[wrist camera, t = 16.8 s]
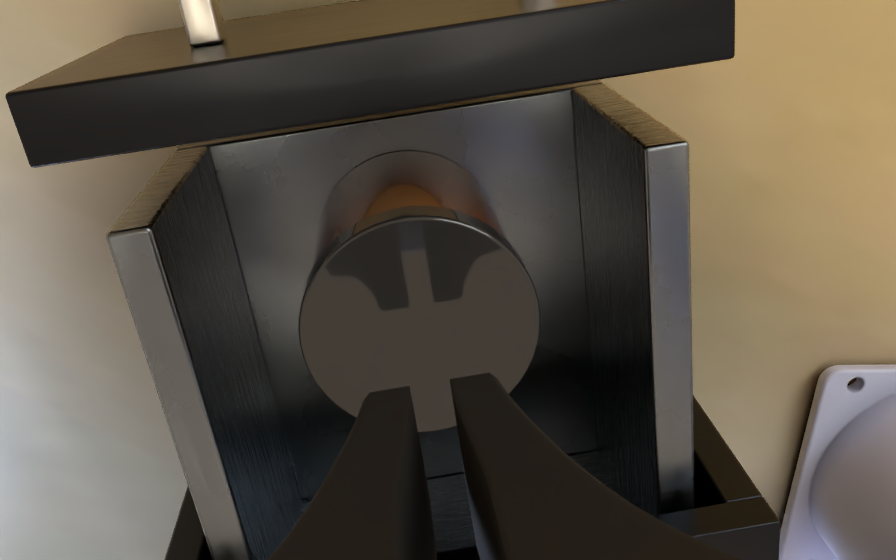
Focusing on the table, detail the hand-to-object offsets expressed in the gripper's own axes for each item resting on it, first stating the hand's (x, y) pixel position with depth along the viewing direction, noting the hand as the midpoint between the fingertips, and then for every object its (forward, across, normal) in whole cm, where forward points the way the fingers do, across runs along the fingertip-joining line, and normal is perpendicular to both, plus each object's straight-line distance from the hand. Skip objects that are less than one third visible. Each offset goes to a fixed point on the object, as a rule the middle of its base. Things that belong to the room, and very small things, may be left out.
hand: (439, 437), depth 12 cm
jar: (+8, 0, 0) cm, 8 cm away
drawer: (+9, 0, -1) cm, 10 cm away
